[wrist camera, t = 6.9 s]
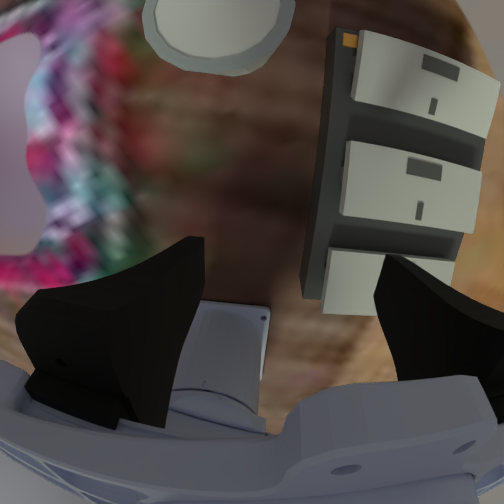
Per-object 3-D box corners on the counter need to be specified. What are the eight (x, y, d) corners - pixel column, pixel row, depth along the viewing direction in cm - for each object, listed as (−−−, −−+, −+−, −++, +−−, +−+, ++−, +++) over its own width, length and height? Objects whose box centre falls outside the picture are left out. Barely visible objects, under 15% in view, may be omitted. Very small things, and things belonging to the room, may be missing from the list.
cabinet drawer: (478, 133, 14) (486, 139, 13) (350, 96, 14) (355, 101, 13) (491, 78, 11) (501, 83, 10) (359, 30, 11) (365, 30, 11)
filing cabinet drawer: (464, 230, 16) (473, 234, 15) (338, 212, 16) (343, 215, 15) (473, 170, 15) (482, 172, 14) (346, 141, 15) (351, 140, 14)
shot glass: (309, 40, 15) (329, 7, 9) (232, 106, 18) (212, 104, 12) (235, -22, 13) (219, -71, 7) (161, 43, 16) (113, 21, 10)
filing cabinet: (425, 284, 23) (441, 308, 20) (299, 275, 23) (303, 302, 20) (469, 80, 15) (496, 80, 12) (327, 38, 15) (338, 24, 12)
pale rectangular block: (435, 311, 19) (442, 316, 18) (319, 307, 19) (322, 313, 18) (447, 258, 18) (455, 262, 17) (328, 247, 18) (332, 250, 17)
